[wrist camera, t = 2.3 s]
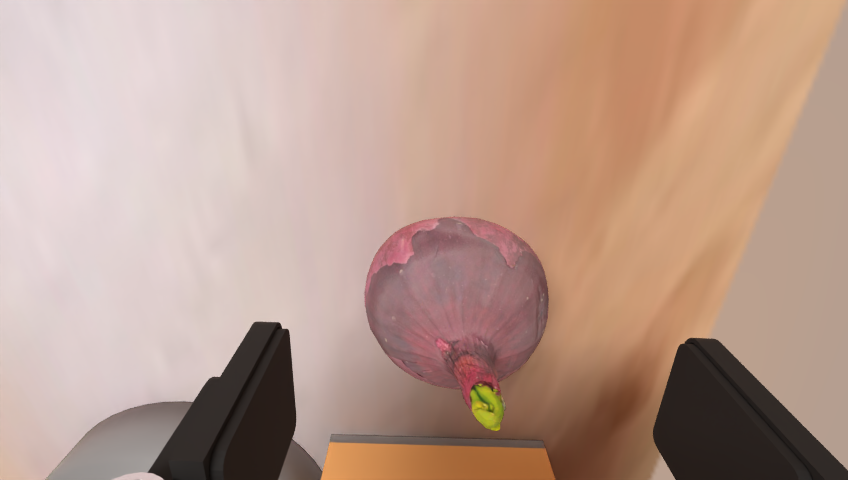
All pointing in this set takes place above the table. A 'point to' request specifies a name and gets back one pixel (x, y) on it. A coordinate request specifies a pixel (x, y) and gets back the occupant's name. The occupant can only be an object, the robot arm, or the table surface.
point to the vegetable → (458, 306)
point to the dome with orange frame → (300, 476)
